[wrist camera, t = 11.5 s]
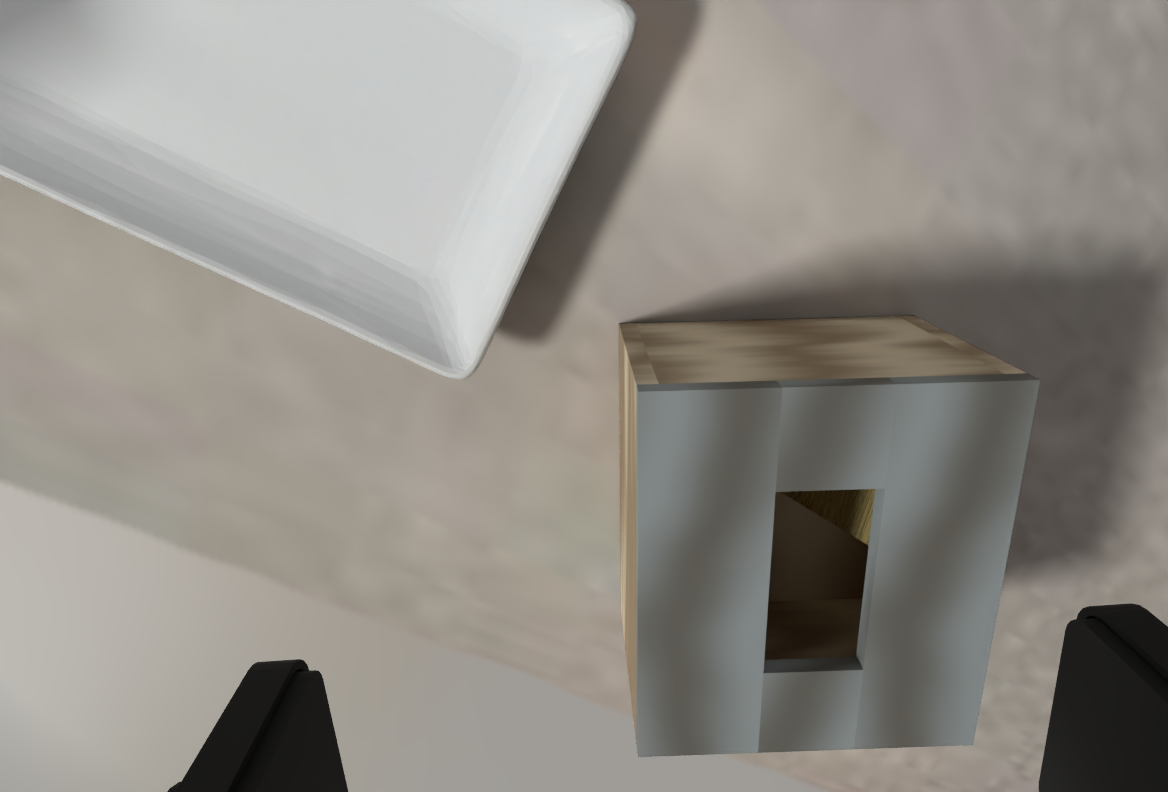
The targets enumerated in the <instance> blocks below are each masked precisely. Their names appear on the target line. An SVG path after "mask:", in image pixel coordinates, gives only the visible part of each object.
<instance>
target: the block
mask: <svg viewBox="0 0 1168 792" xmlns="http://www.w3.org/2000/svg"><path fill="white" fill-rule="evenodd" d="M782 493H783V494H785V495H787V496H788V497H790V498H792V499H793V500H795V501H797V502H798V503H800V504H801V505H803V506H805V507H806V508H808V509H810V510H811V511H813V512H814V513H816V514H818V515H819V516H821V517H823V518H824V519H826V520H828V521H829V522H831V523H832V524H834V525H836V526H837V527H839V528H841V529H842V530H844V531H846V532H847V533H849V534H850V535H852V536H854V537H855V538H857V539H859V540H860V541H862V542H864V543H865V544H867V545H868V546H869V539H870V530H871V522H872V513H873V504H874V496H875V489H856V490H823V491H791V492H782Z"/></svg>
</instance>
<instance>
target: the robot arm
mask: <svg viewBox="0 0 1168 792" xmlns="http://www.w3.org/2000/svg"><path fill="white" fill-rule="evenodd" d="M168 792H348V789H347V784H346V780H345V775H344V771H343V767H342V762H341V757H340V753H339V749H338V744H337V739H336V735H335V731H334V726H333V722H332V718H331V713H330V708H329V704H328V700H327V695H326V690H325V686H324V681H323V678H322V675H321V673H320V672H319V671H309V669H308V666H307V664H306V663H305V662H304V661H303V660H284V661H269V662H257V663H255V664H254V665H252V667H251V668H250V669H249V670H248V672H247V674H246V675H245V677H244V678H243V680H242V682H241V683H240V685H239V687H238V688H237V690H236V692H235V694H234V695H233V697H232V698H231V700H230V702H229V704H228V705H227V707H226V708H225V710H224V712H223V713H222V715H221V717H220V719H219V720H218V722H217V723H216V725H215V727H214V728H213V730H212V732H211V733H210V735H209V737H208V738H207V740H206V742H205V744H204V745H203V747H202V748H201V750H200V752H199V754H198V755H197V757H196V758H195V760H194V762H193V764H192V765H191V767H190V768H189V770H188V772H187V774H186V775H185V777H184V778H183V780H182V782H179V783H177V784H176V785H174V786H173V787H171V788H170V789H169V790H168ZM1039 792H1168V627H1167V626H1166V625H1165V624H1164V623H1162V622H1161V621H1160V620H1159V619H1158V618H1156V617H1155V616H1154V615H1153V614H1152V613H1150V612H1149V611H1148V610H1146V609H1145V608H1143V607H1142V606H1140V605H1136V604H1118V605H1104V606H1089V607H1086V608H1083V609H1082V610H1081V611H1080V612H1079V613H1078V616H1077V619H1076V620H1072V621H1070V622H1069V623H1068V624H1067V627H1066V630H1065V636H1064V642H1063V647H1062V653H1061V659H1060V665H1059V670H1058V676H1057V682H1056V688H1055V693H1054V699H1053V705H1052V711H1051V716H1050V722H1049V728H1048V734H1047V739H1046V745H1045V751H1044V757H1043V762H1042V768H1041V774H1040V780H1039Z"/></svg>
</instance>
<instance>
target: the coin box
mask: <svg viewBox="0 0 1168 792" xmlns="http://www.w3.org/2000/svg"><path fill="white" fill-rule="evenodd" d="M1039 385H1040V380H1039V379H1037V378H1035V377H1033V376H1031V375H1029V374H1027V373H1025V372H1024V371H1022V370H1020V369H1018V368H1016V367H1014V366H1012V365H1010V364H1008V363H1006V362H1004V361H1002V360H1000V359H998V358H996V357H994V356H992V355H990V354H988V353H986V352H984V351H983V350H981V349H979V348H977V347H975V346H973V345H971V344H969V343H967V342H965V341H963V340H961V339H959V338H957V337H955V336H953V335H951V334H949V333H947V332H945V331H944V330H942V329H940V328H938V327H936V326H934V325H932V324H930V323H928V322H926V321H924V320H922V319H920V318H918V317H916V316H914V315H912V316H876V317H840V318H804V319H768V320H732V321H696V322H660V323H623V324H619V396H620V524H621V615H622V624H623V632H624V641H625V650H626V658H627V667H628V675H629V684H630V692H631V701H632V710H633V718H634V727H635V735H636V744H637V753H638V757H651V756H679V755H704V754H705V755H706V754H734V753H762V752H790V751H818V750H845V749H873V748H901V747H929V746H956V745H973V742H974V736H975V731H976V725H977V720H978V715H979V709H980V704H981V698H982V693H983V687H984V682H985V677H986V671H987V666H988V660H989V655H990V650H991V644H992V639H993V633H994V628H995V623H996V617H997V612H998V606H999V601H1000V596H1001V590H1002V585H1003V579H1004V574H1005V568H1006V563H1007V558H1008V552H1009V547H1010V541H1011V536H1012V531H1013V525H1014V520H1015V514H1016V509H1017V504H1018V498H1019V493H1020V487H1021V482H1022V477H1023V471H1024V466H1025V460H1026V455H1027V449H1028V444H1029V439H1030V433H1031V428H1032V422H1033V417H1034V412H1035V406H1036V401H1037V395H1038V390H1039ZM856 489H875V496H874V504H873V513H872V522H871V530H870V539H869V546H868V545H867V544H865V543H864V542H862V541H860V540H859V539H857V538H855V537H854V536H852V535H850V534H849V533H847V532H846V531H844V530H842V529H841V528H839V527H837V526H836V525H834V524H832V523H831V522H829V521H828V520H826V519H824V518H823V517H821V516H819V515H818V514H816V513H814V512H813V511H811V510H810V509H808V508H806V507H805V506H803V505H801V504H800V503H798V502H797V501H795V500H793V499H792V498H790V497H788V496H787V495H785V494H783V493H782V492H791V491H823V490H856Z"/></svg>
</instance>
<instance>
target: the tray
mask: <svg viewBox="0 0 1168 792" xmlns="http://www.w3.org/2000/svg"><path fill="white" fill-rule="evenodd" d="M636 25H637V17H636V14H635V11H634V10H633V8H632V7H631V6H630V5H629V4H628V3H627V2H626V1H624V0H0V174H1V175H3V176H5V177H7V178H9V179H11V180H14V181H16V182H18V183H20V184H22V185H24V186H27V187H29V188H31V189H33V190H35V191H37V192H40V193H42V194H44V195H46V196H48V197H50V198H53V199H55V200H57V201H59V202H61V203H64V204H66V205H68V206H70V207H72V208H74V209H77V210H79V211H81V212H83V213H85V214H88V215H90V216H92V217H94V218H96V219H98V220H101V221H103V222H105V223H107V224H109V225H112V226H114V227H116V228H118V229H120V230H122V231H125V232H127V233H129V234H131V235H133V236H136V237H138V238H140V239H142V240H144V241H147V242H149V243H151V244H153V245H156V246H158V247H160V248H162V249H165V250H167V251H169V252H171V253H173V254H176V255H178V256H180V257H182V258H185V259H187V260H189V261H191V262H194V263H196V264H198V265H200V266H202V267H205V268H207V269H209V270H211V271H213V272H216V273H218V274H220V275H222V276H225V277H227V278H229V279H231V280H233V281H236V282H238V283H240V284H242V285H244V286H247V287H249V288H251V289H253V290H256V291H258V292H260V293H262V294H264V295H267V296H269V297H271V298H273V299H276V300H278V301H280V302H282V303H284V304H287V305H289V306H291V307H293V308H296V309H298V310H300V311H302V312H304V313H307V314H309V315H311V316H313V317H316V318H318V319H320V320H322V321H324V322H326V323H329V324H331V325H333V326H335V327H337V328H339V329H342V330H344V331H346V332H348V333H350V334H352V335H355V336H357V337H359V338H361V339H363V340H365V341H368V342H370V343H372V344H374V345H376V346H378V347H381V348H383V349H385V350H387V351H389V352H392V353H394V354H396V355H398V356H400V357H402V358H405V359H407V360H409V361H411V362H413V363H415V364H417V365H420V366H422V367H424V368H426V369H428V370H431V371H433V372H435V373H437V374H440V375H443V376H446V377H449V378H453V379H461V380H463V379H465V378H467V377H469V376H471V375H472V374H473V373H474V372H475V370H476V369H477V368H478V366H479V365H480V363H481V361H482V359H483V357H484V355H485V353H486V351H487V349H488V347H489V345H490V343H491V341H492V339H493V337H494V335H495V333H496V330H497V328H498V326H499V324H500V322H501V319H502V317H503V315H504V313H505V310H506V308H507V306H508V304H509V302H510V299H511V297H512V295H513V293H514V290H515V288H516V286H517V284H518V282H519V279H520V277H521V275H522V273H523V271H524V268H525V266H526V264H527V262H528V260H529V257H530V255H531V253H532V251H533V249H534V246H535V244H536V242H537V240H538V238H539V236H540V234H541V232H542V229H543V227H544V225H545V223H546V221H547V219H548V217H549V215H550V213H551V211H552V209H553V207H554V204H555V202H556V200H557V198H558V196H559V194H560V192H561V190H562V188H563V186H564V183H565V181H566V179H567V177H568V175H569V173H570V171H571V169H572V167H573V165H574V162H575V160H576V158H577V156H578V154H579V152H580V150H581V148H582V146H583V144H584V142H585V140H586V138H587V136H588V134H589V132H590V129H591V127H592V125H593V123H594V121H595V119H596V117H597V115H598V113H599V111H600V109H601V107H602V105H603V103H604V101H605V99H606V97H607V95H608V93H609V91H610V89H611V87H612V85H613V83H614V81H615V79H616V77H617V74H618V72H619V70H620V68H621V66H622V64H623V61H624V59H625V57H626V55H627V52H628V50H629V48H630V45H631V43H632V40H633V37H634V34H635V30H636Z"/></svg>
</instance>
